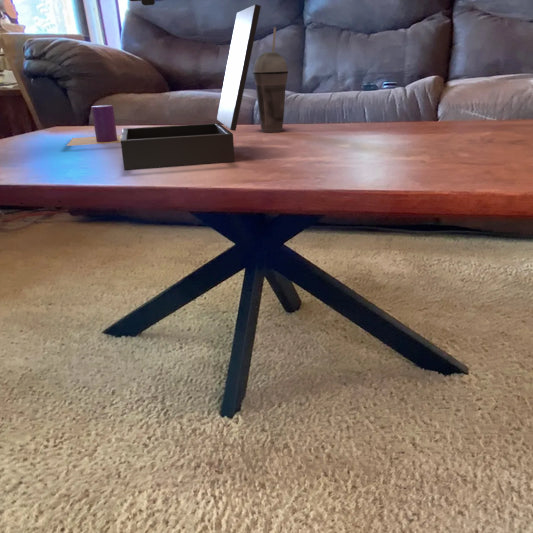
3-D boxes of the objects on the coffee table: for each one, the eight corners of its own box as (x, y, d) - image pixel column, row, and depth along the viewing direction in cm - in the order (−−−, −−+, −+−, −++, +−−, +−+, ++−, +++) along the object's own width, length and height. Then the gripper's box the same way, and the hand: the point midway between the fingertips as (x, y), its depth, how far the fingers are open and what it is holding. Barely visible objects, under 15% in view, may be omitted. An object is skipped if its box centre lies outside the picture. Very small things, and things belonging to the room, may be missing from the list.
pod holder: (125, 175, 71) (120, 140, 70) (126, 158, 84) (122, 128, 82) (234, 167, 75) (233, 133, 73) (220, 151, 87) (219, 122, 85)
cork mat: (64, 151, 92) (64, 148, 92) (73, 139, 105) (72, 137, 105) (143, 145, 95) (143, 143, 95) (142, 135, 108) (142, 133, 108)
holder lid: (255, 3, 67) (261, 5, 67) (236, 12, 79) (241, 13, 80) (230, 129, 72) (235, 131, 73) (216, 119, 85) (221, 120, 85)
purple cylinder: (95, 142, 98) (90, 107, 95) (97, 139, 101) (92, 105, 99) (117, 141, 99) (112, 106, 96) (118, 138, 102) (113, 104, 100)
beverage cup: (250, 130, 111) (246, 28, 103) (281, 127, 113) (279, 28, 105) (261, 134, 104) (258, 26, 97) (294, 131, 107) (293, 26, 99)
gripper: (118, -101, 85) (131, 7, 92) (88, -128, 72) (106, 0, 79) (162, -103, 85) (173, 5, 91) (140, -132, 72) (154, -2, 78)
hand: (142, 3), depth 85 cm, fingers open, 8 cm apart
